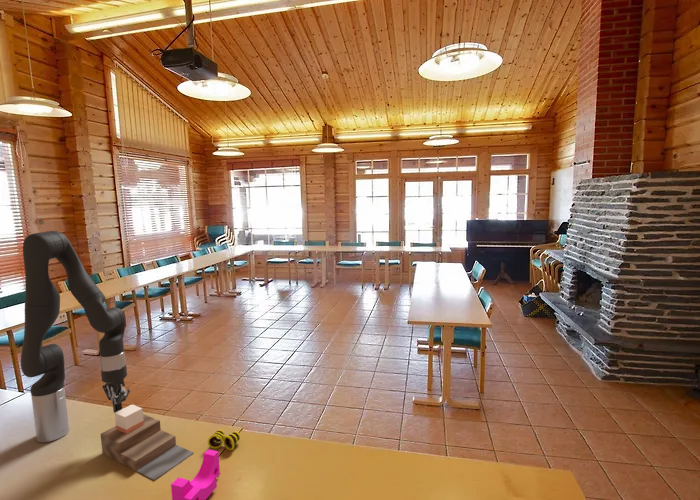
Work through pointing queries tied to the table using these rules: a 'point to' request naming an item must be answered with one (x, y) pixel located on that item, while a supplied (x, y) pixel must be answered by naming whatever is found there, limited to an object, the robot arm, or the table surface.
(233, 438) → the opera glasses
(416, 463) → the table surface
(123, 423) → the cube
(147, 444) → the stair block
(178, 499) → the magenta clamp bracket
